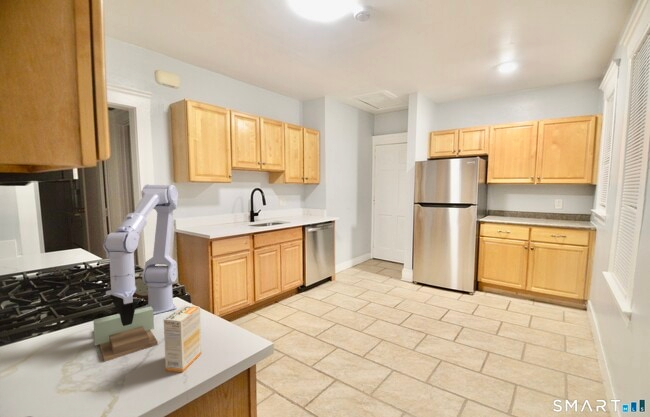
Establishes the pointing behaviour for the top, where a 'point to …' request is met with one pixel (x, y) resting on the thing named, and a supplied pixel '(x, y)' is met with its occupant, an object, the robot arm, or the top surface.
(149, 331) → the slotted plank
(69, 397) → the top surface
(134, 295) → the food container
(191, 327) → the supplement box
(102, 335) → the sage block
